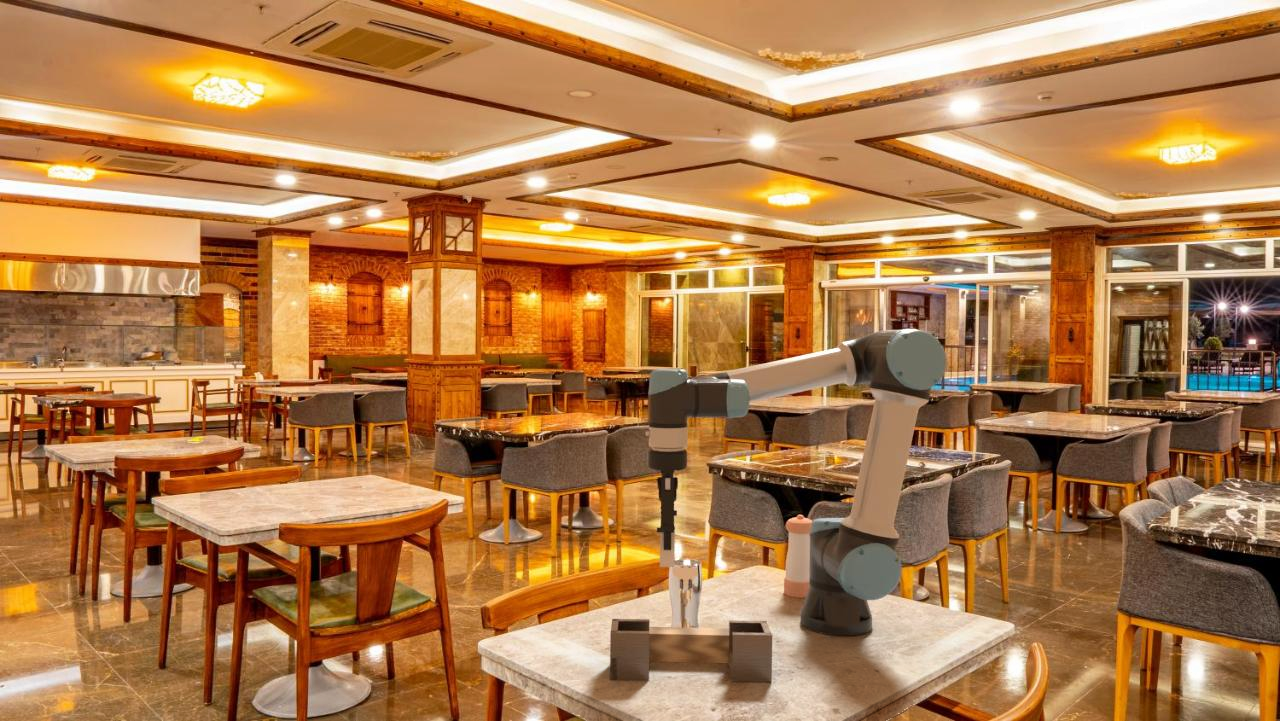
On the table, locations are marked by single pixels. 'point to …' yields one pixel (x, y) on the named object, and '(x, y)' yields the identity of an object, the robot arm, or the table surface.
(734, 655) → the brackets
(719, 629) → the rail
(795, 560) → the pepper shaker
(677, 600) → the shiny metal tumbler
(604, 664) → the table surface
